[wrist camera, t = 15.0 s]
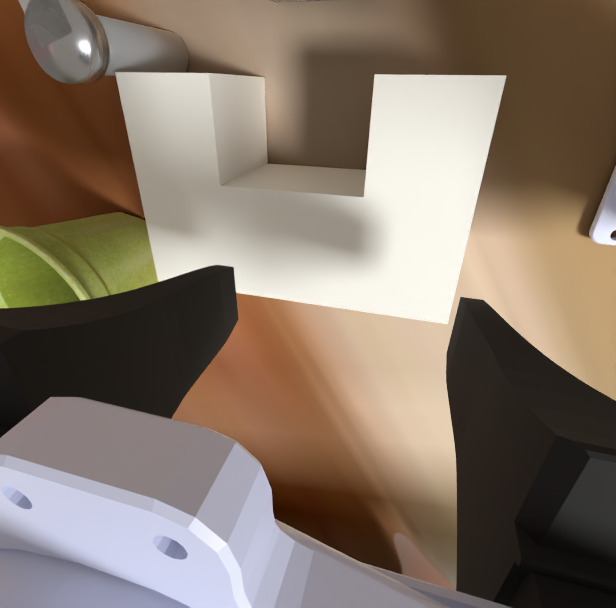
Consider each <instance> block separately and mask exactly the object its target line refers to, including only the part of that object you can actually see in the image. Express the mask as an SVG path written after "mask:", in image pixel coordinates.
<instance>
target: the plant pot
mask: <svg viewBox="0 0 616 608" xmlns="http://www.w3.org/2000/svg"><path fill="white" fill-rule="evenodd" d="M157 282H160V281H158V279H157V274H156V269H155V264H154V259H153V254H152V250H151V245H150V240H149V235H148V230H147V225H146V221H145V220H143V219H141V218H137V217H134V216H131V215H128V214H125V213H122V212H114V213H109V214H102V215H97V216H92V217H87V218H81V219H76V220H70V221H64V222H59V223H53V224H47V225H42V226H36V227H24V226H11V227H4V226H0V308H19V307H32V306H43V305H53V304H62V303H68V302H75V301H81V300H88V299H94V298H99V297H104V296H109V295H113V294H118V293H122V292H126V291H130V290H134V289H137V288H140V287H144V286H147V285H150V284H154V283H157Z"/></svg>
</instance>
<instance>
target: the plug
mask: <svg viewBox="0 0 616 608" xmlns="http://www.w3.org/2000/svg"><path fill="white" fill-rule="evenodd" d="M272 1H274V2H292V1H320V0H272Z"/></svg>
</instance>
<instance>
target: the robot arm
mask: <svg viewBox="0 0 616 608" xmlns="http://www.w3.org/2000/svg"><path fill="white" fill-rule="evenodd" d="M615 230H616V166H615V168H614V171H613V173H612V176H611V178H610V181H609V183H608V186H607V188H606V191H605V193H604V196H603V198H602V201H601V203H600V206H599V208H598V211H597V213H596V216H595V218H594V221H593V223H592V226H591V228H590V231H589V236H590V238H591V239H592V240H593V241H594V242H595V243H598V244H606V245H616V237H614V238H610V234H611V233H612V232H613V231H615ZM237 321H238V310H237V299H236V288H235V277H234V267H230V266H223V265H212V266H208V267H204V268H201V269H197V270H194V271H191V272H188V273H185V274H182V275H179V276H176V277H173V278H170V279H167V280H164V281H160V282H157V283H154V284H150V285H147V286H144V287H140V288H137V289H134V290H130V291H126V292H122V293H118V294H113V295H109V296H104V297H99V298H94V299H88V300H81V301H75V302H68V303H62V304H53V305H43V306H32V307H19V308H0V608H616V401H615V400H613V399H611V398H609V397H608V396H606V395H604V394H602V393H601V392H599V391H597V390H595V389H594V388H592V387H590V386H589V385H587V384H585V383H584V382H582V381H581V380H579V379H578V378H576V377H575V376H573V375H572V374H570V373H569V372H567V371H566V370H564V369H563V368H561V367H560V366H558V365H557V364H556V363H554V362H553V361H552V360H550V359H549V358H547V357H546V356H545V355H544V354H542V353H541V352H540V351H539V350H538V349H536V348H535V347H534V346H533V345H531V344H530V343H529V342H528V341H527V340H526V339H524V338H523V337H522V336H521V335H520V334H519V333H518V332H517V331H515V330H514V329H513V328H512V327H511V326H510V325H509V324H508V323H507V322H506V321H505V320H504V319H503V318H502V317H501V316H500V315H499V314H498V313H497V312H496V311H495V310H494V309H493V308H492V307H491V306H489V305H488V304H487V303H486V302H485V301H484V300H479V299H471V298H464V297H461V298H460V302H459V306H458V310H457V314H456V318H455V322H454V326H453V330H452V334H451V338H450V342H449V346H448V350H447V364H446V382H447V390H448V398H449V405H450V413H451V420H452V427H453V434H454V441H455V451H456V469H457V588H456V591H455V590H451V589H448V588H444V587H441V586H438V585H434V584H431V583H428V582H425V581H421V580H418V579H415V578H411V577H408V576H405V575H401V574H398V573H395V572H391V571H388V570H384V569H381V568H378V567H374V566H371V565H368V564H364V563H361V562H359V561H357V560H355V559H353V558H351V557H349V556H347V555H345V554H343V553H341V552H339V551H337V550H335V549H333V548H331V547H329V546H327V545H325V544H323V543H321V542H319V541H317V540H315V539H313V538H311V537H309V536H307V535H306V534H304V533H302V532H300V531H298V530H296V529H294V528H292V527H290V526H288V525H286V524H284V523H282V522H280V521H278V520H276V519H274V515H273V507H272V490H271V487H270V485H269V483H268V480H267V478H266V475H265V473H264V471H263V468H262V466H261V464H260V462H259V461H258V460H257V459H256V458H255V457H254V456H253V455H252V454H251V453H250V452H248V451H247V450H246V449H245V448H244V447H243V446H242V445H241V444H240V443H238V442H237V441H236V440H234V439H232V438H230V437H227V436H225V435H223V434H220V433H218V432H216V431H214V430H211V429H209V428H207V427H202V426H198V425H194V424H190V423H186V422H182V421H177V420H173V419H171V418H172V416H173V415H174V413H175V411H176V410H177V408H178V406H179V405H180V403H181V401H182V400H183V398H184V397H185V395H186V394H187V392H188V391H189V390H190V388H191V387H192V386H193V384H194V383H195V382H196V380H197V379H198V378H199V377H200V375H201V374H202V373H203V371H204V370H205V369H206V368H207V366H208V365H209V364H210V362H211V361H212V360H213V359H214V357H215V356H216V355H217V353H218V352H219V351H220V349H221V348H222V347H223V345H224V344H225V343H226V341H227V339H228V338H229V336H230V334H231V332H232V330H233V328H234V327H235V325H236V323H237Z"/></svg>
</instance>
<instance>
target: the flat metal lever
mask: <svg viewBox="0 0 616 608" xmlns="http://www.w3.org/2000/svg"><path fill="white" fill-rule="evenodd" d="M18 1H19V3H20V5H21V7H22V9H23V11H24V13H25V18H24V26H25V34H26V38H27V42H28V45H29V48H30V50H31V52H32V54H33V56H34V58H35V59H36V61H37V63H38V64H39V65H40V67H41V68H42V69H43V70H44V71H45V72H46V73H47V74H48V75H49V76H51V77H52V78H54V79H55V80H57V81H60V82H63V83H78V84H91V83H95V82H97V81H99V80H100V79H102V78H103V76H104V75H105V73H106V72H107V69H108V66H109V60H110V50H109V43H108V39H107V35H106V33H105V30H104V28H103V26H102V24H101V22H100V20H99V19H98V17H97V16H96V15H95V13H94V12H93V11H92V10H91V9H90V8H89V7H88V6H86V5H85V4H84V3H82V2H80V0H18Z"/></svg>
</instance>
